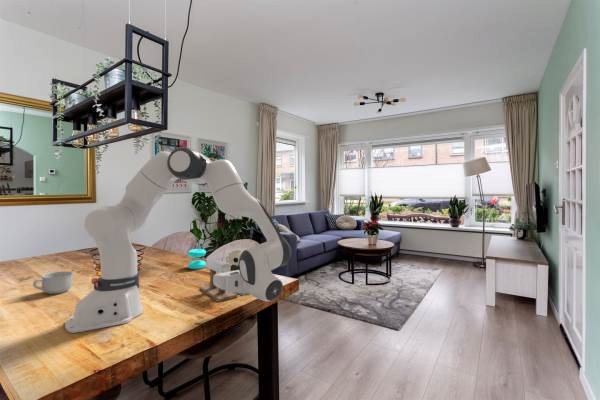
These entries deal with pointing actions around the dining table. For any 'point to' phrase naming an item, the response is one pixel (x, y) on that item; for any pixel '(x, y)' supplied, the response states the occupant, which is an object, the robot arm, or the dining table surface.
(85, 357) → the dining table surface
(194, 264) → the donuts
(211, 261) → the rail
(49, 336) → the dining table surface
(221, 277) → the robot arm
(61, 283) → the teacup
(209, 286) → the stand
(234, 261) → the character mug
